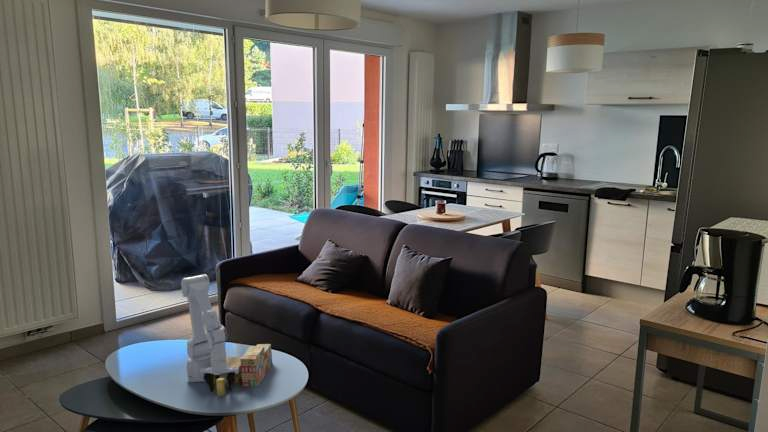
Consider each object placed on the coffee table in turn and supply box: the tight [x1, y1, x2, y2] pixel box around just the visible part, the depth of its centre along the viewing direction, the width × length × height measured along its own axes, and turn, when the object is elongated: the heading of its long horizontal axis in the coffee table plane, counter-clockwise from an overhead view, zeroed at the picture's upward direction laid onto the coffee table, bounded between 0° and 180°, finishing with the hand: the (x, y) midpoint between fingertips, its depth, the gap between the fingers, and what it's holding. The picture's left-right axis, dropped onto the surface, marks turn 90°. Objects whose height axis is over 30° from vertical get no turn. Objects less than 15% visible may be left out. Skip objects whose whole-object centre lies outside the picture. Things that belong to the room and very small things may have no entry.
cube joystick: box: [216, 373, 235, 397], centre depth 214 cm, size 5×14×6 cm, turn 2°
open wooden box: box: [213, 356, 242, 388], centre depth 221 cm, size 11×13×7 cm
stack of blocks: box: [240, 343, 273, 388], centre depth 225 cm, size 21×6×12 cm, turn 175°
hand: (221, 390), depth 210 cm, fingers open, 6 cm apart
